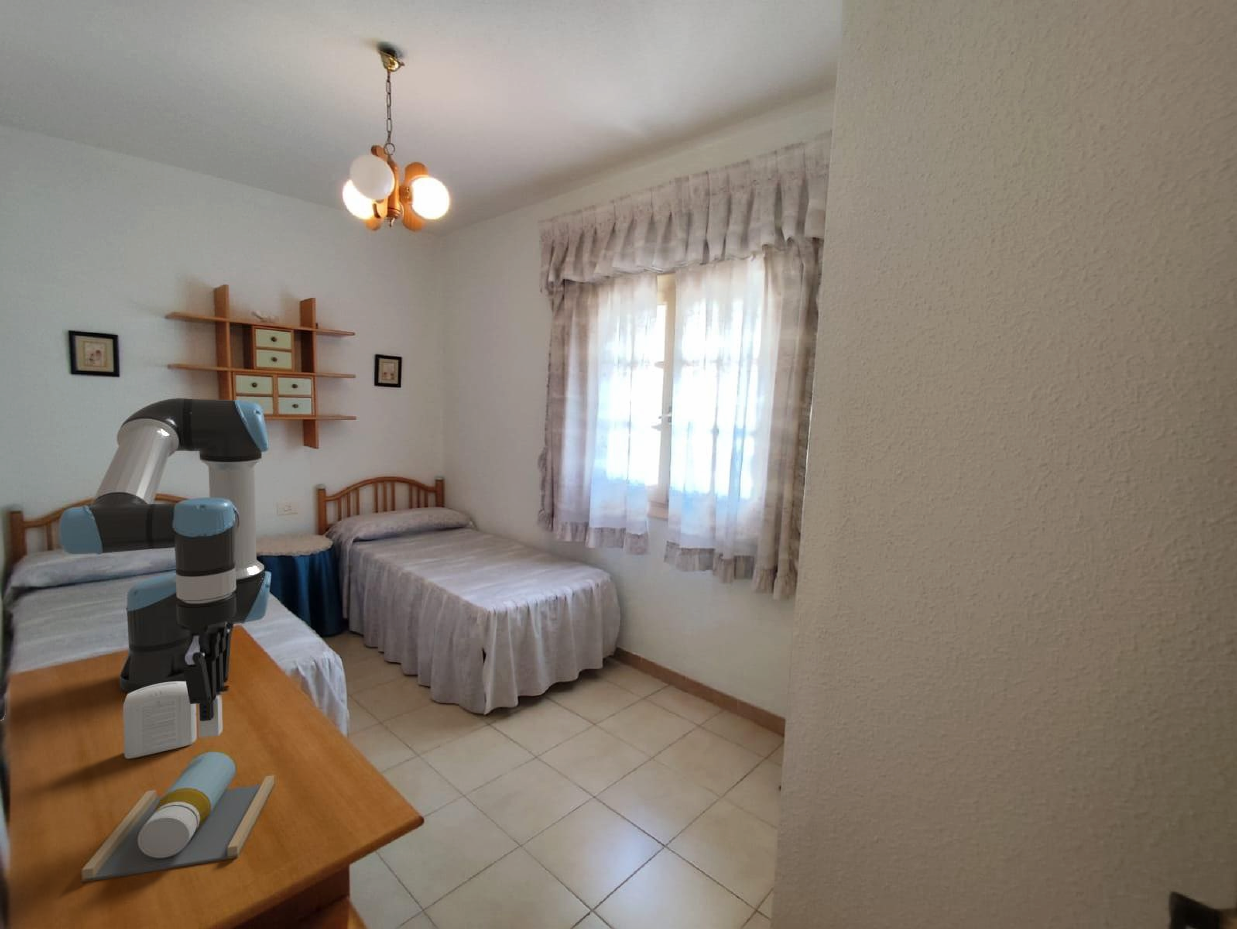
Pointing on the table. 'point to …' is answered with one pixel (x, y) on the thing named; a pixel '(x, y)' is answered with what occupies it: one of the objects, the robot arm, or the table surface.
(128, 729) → the photo printer
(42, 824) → the table surface
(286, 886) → the table surface
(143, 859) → the grey tray
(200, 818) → the bottle
